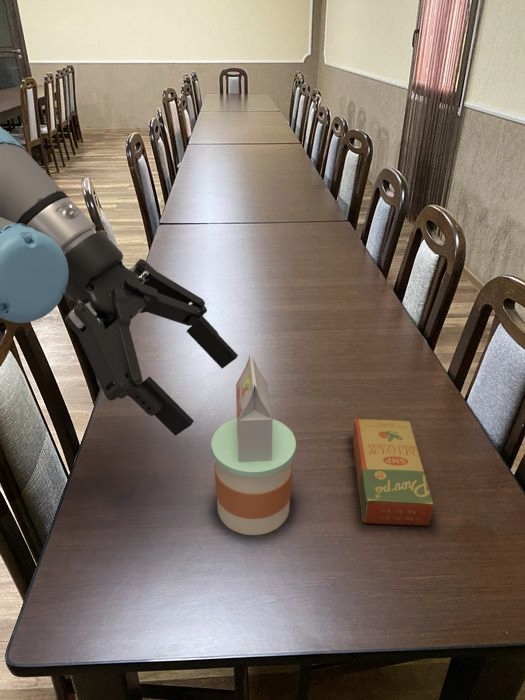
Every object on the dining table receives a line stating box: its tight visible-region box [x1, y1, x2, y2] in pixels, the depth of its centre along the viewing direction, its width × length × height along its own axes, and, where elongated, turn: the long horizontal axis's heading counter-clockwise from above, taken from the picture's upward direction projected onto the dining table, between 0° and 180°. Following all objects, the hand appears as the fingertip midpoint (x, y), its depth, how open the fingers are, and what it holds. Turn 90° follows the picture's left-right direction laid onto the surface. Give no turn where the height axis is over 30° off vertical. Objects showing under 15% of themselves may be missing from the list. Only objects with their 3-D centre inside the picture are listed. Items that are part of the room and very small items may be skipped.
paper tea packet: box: [235, 354, 274, 462], centre depth 61 cm, size 4×7×10 cm, turn 4°
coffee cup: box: [210, 417, 297, 536], centre depth 66 cm, size 10×10×11 cm
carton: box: [352, 418, 434, 527], centre depth 72 cm, size 8×16×4 cm, turn 177°
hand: (209, 392), depth 61 cm, fingers open, 13 cm apart
